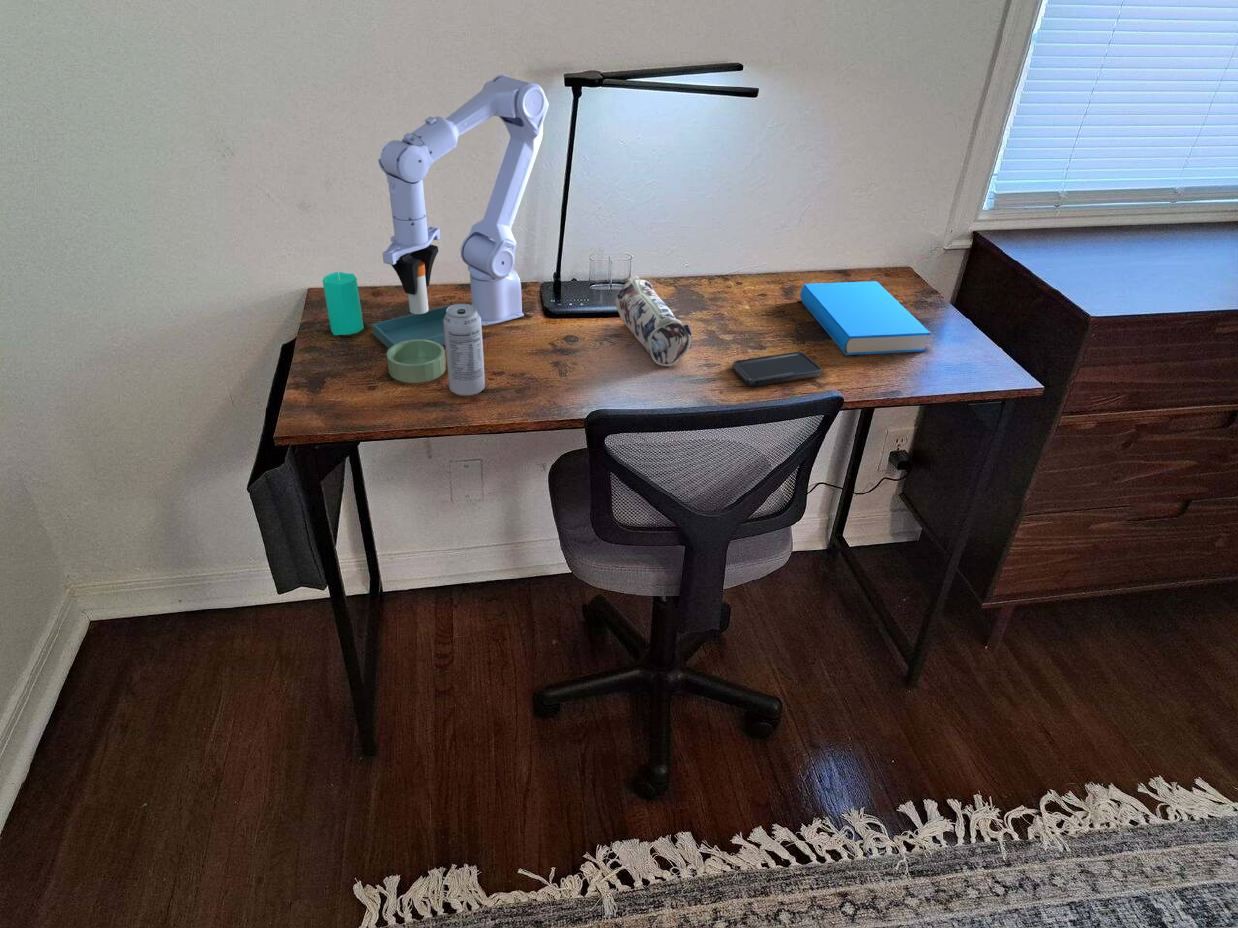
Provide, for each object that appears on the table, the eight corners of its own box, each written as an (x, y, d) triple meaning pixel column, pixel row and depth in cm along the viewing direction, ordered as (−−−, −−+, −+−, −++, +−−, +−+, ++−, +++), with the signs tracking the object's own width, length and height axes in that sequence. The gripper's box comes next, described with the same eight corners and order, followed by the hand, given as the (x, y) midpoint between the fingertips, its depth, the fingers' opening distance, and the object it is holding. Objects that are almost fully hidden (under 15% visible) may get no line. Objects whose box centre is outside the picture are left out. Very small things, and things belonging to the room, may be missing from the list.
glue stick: (423, 304, 157) (418, 258, 152) (432, 311, 154) (428, 265, 149) (406, 309, 155) (400, 262, 150) (414, 316, 153) (409, 269, 147)
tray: (449, 316, 167) (448, 305, 165) (476, 337, 160) (475, 325, 158) (373, 336, 158) (371, 324, 157) (398, 359, 151) (396, 346, 150)
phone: (730, 361, 153) (802, 350, 157) (729, 367, 153) (801, 356, 158) (750, 382, 147) (824, 370, 151) (749, 387, 147) (823, 375, 152)
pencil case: (691, 365, 154) (696, 316, 148) (648, 371, 151) (651, 321, 146) (651, 315, 170) (654, 270, 165) (611, 319, 168) (613, 273, 163)
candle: (355, 338, 157) (345, 278, 150) (325, 334, 158) (314, 274, 151) (369, 325, 162) (360, 266, 155) (340, 321, 163) (330, 262, 156)
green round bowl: (430, 353, 154) (428, 334, 152) (455, 375, 147) (454, 356, 145) (380, 367, 149) (377, 348, 147) (403, 390, 142) (401, 371, 140)
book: (876, 280, 180) (932, 330, 160) (872, 299, 182) (926, 351, 162) (800, 283, 177) (848, 335, 157) (797, 302, 179) (843, 355, 159)
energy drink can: (485, 381, 146) (480, 301, 137) (485, 399, 141) (480, 317, 132) (450, 382, 145) (443, 302, 137) (448, 400, 140) (441, 318, 132)
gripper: (414, 200, 151) (421, 271, 159) (363, 223, 140) (374, 299, 148) (447, 206, 149) (453, 278, 157) (399, 231, 138) (407, 307, 146)
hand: (417, 289), depth 152 cm, fingers closed on glue stick, 3 cm apart
